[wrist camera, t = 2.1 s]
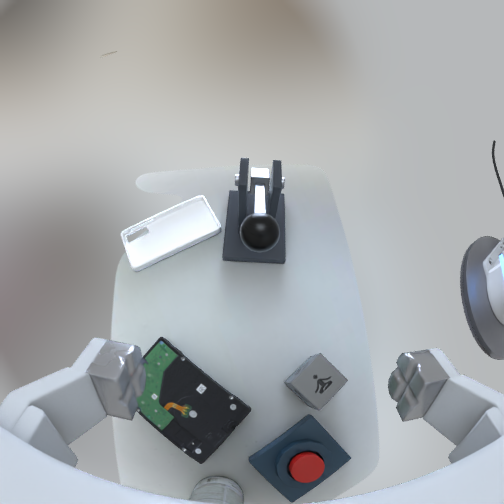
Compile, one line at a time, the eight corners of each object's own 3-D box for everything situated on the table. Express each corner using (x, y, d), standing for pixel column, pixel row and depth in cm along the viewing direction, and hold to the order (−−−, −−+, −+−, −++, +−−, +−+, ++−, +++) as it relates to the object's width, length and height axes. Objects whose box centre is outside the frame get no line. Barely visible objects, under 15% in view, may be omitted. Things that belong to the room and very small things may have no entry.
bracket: (284, 263, 41) (301, 216, 29) (223, 260, 41) (216, 211, 29) (283, 198, 46) (295, 142, 35) (229, 195, 46) (227, 137, 34)
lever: (278, 261, 25) (283, 228, 22) (237, 259, 25) (239, 225, 22) (272, 190, 36) (275, 164, 33) (245, 188, 36) (246, 163, 33)
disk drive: (252, 406, 32) (165, 337, 35) (253, 408, 29) (159, 334, 33) (204, 459, 28) (121, 389, 31) (202, 465, 26) (112, 390, 29)
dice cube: (309, 406, 32) (319, 410, 27) (284, 382, 33) (290, 382, 29) (334, 380, 33) (348, 380, 29) (310, 356, 35) (320, 353, 30)
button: (308, 445, 26) (311, 449, 25) (326, 464, 25) (331, 468, 24) (282, 465, 25) (284, 469, 24) (301, 483, 24) (304, 488, 22)
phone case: (135, 273, 39) (222, 231, 43) (131, 269, 38) (222, 227, 42) (122, 235, 42) (203, 198, 45) (119, 231, 41) (202, 193, 44)
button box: (308, 414, 31) (316, 417, 28) (345, 454, 28) (356, 461, 25) (248, 457, 28) (249, 466, 25) (289, 497, 26) (294, 508, 22)
